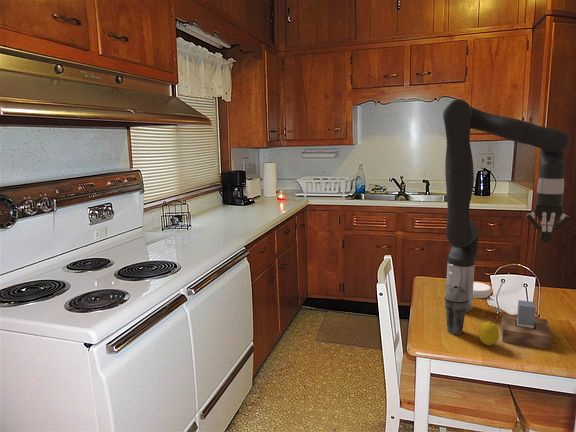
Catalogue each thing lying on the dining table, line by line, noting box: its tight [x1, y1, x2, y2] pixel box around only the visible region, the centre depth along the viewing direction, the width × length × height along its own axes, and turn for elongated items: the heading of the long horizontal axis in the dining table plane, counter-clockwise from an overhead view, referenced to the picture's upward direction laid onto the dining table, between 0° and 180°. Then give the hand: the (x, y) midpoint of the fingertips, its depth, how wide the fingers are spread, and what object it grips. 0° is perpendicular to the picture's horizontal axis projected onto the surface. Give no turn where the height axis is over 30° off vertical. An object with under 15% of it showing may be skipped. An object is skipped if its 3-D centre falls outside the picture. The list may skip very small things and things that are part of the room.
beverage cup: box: [444, 273, 468, 336], centre depth 137 cm, size 7×7×20 cm
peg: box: [516, 299, 536, 329], centre depth 134 cm, size 4×4×11 cm
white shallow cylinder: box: [473, 281, 492, 299], centre depth 170 cm, size 10×10×4 cm
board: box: [500, 312, 553, 350], centre depth 134 cm, size 13×13×4 cm
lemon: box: [478, 320, 500, 347], centre depth 129 cm, size 6×6×8 cm
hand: (545, 242), depth 143 cm, fingers closed
